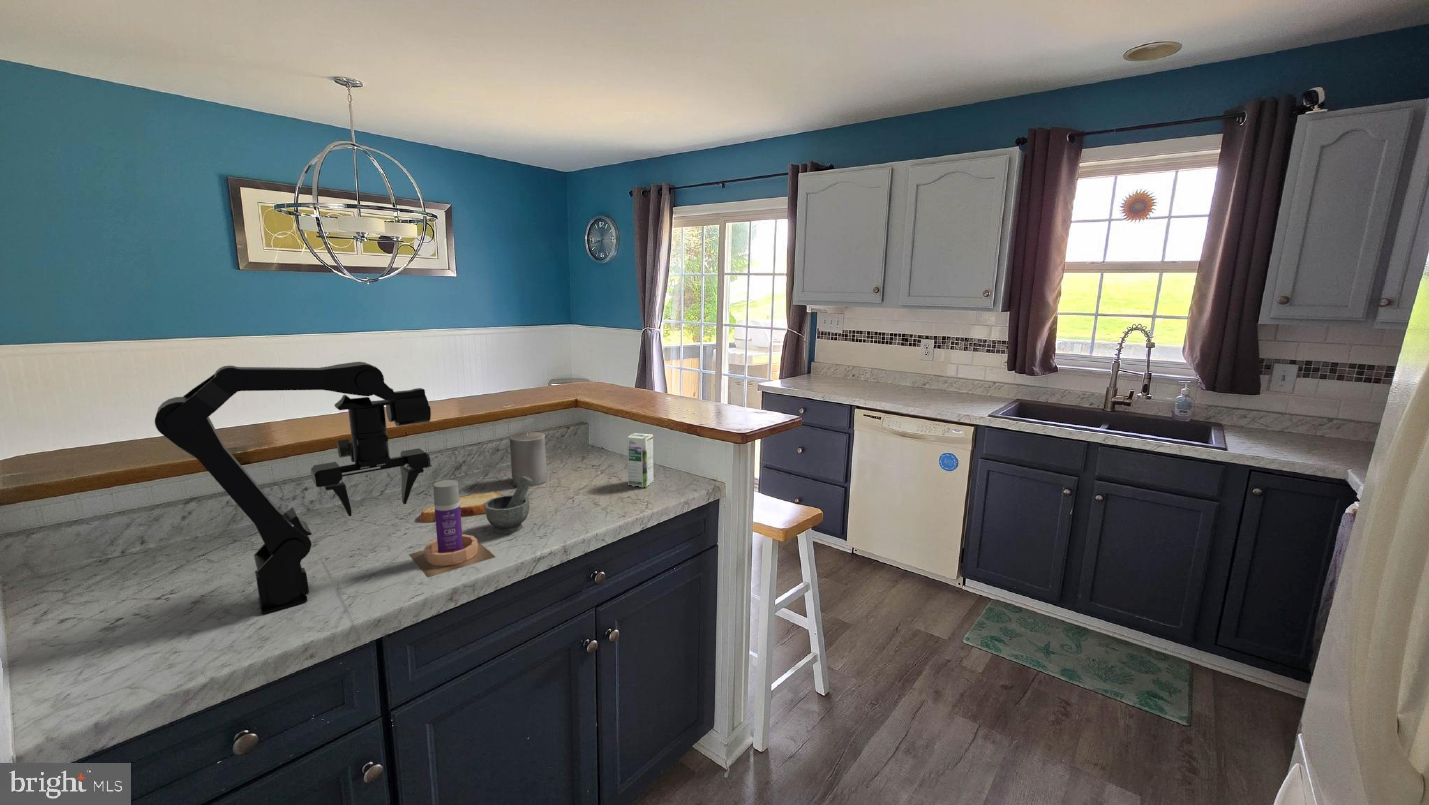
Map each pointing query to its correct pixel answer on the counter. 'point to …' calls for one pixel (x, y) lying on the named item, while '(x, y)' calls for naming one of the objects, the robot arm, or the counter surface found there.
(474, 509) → the bread slice
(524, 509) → the mortar and pestle
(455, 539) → the container
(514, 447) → the pillar candle
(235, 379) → the robot arm
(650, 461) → the syrup box
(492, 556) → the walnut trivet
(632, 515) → the counter surface
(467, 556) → the terracotta dish
